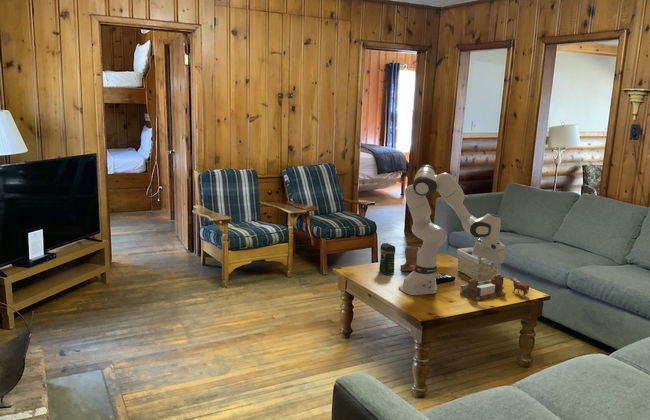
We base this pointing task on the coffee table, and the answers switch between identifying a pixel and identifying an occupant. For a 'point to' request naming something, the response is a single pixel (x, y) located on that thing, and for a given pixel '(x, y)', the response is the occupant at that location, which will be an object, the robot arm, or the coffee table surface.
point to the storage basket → (475, 266)
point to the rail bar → (486, 289)
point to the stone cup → (410, 258)
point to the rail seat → (471, 287)
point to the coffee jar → (387, 258)
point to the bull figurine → (520, 286)
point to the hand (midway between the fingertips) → (486, 266)
